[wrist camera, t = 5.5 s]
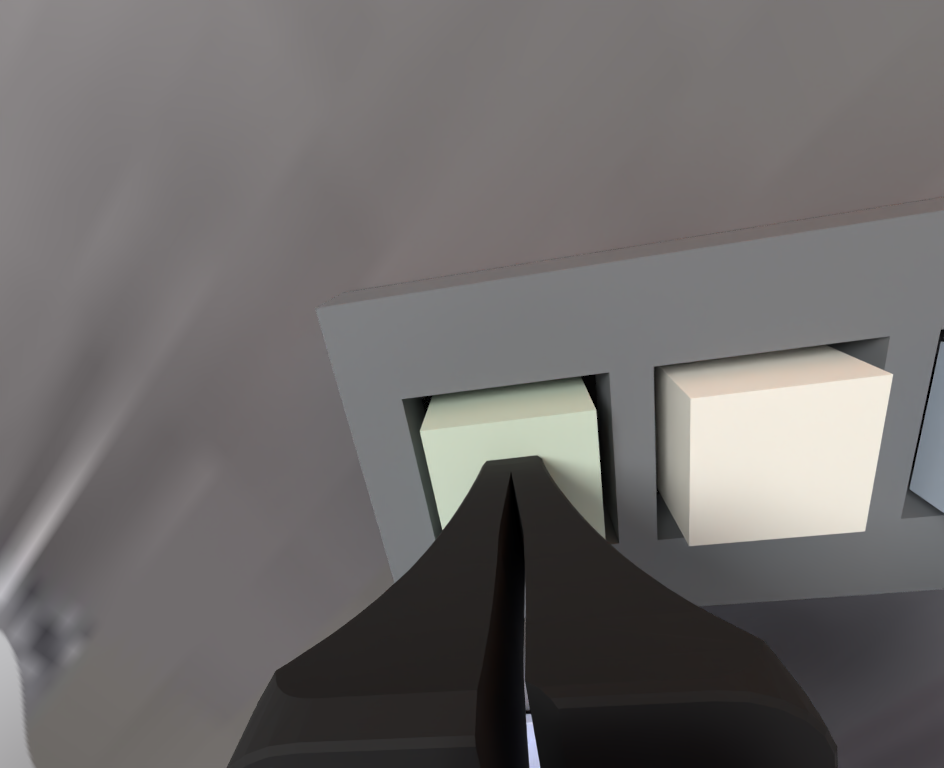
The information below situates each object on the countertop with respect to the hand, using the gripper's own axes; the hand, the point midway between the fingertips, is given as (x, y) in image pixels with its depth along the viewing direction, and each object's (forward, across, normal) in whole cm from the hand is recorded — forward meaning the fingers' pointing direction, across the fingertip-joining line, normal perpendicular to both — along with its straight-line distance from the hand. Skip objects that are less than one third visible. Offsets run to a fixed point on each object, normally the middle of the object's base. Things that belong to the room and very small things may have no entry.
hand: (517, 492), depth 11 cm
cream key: (+2, -6, 0) cm, 6 cm away
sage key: (+2, 0, 0) cm, 2 cm away
